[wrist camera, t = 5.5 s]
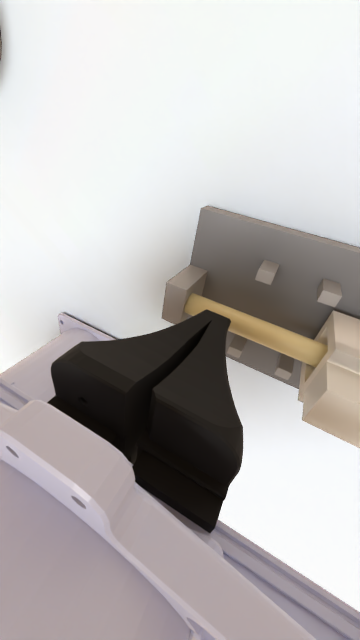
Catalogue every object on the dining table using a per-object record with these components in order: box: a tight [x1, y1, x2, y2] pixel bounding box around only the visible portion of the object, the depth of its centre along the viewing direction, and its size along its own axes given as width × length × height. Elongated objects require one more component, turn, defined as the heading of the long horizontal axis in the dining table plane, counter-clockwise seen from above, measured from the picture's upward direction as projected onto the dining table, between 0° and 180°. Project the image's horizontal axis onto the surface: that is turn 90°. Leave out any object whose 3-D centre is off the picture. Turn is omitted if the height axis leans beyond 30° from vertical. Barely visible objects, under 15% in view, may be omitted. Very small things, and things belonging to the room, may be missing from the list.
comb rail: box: [162, 206, 360, 389], centre depth 13 cm, size 9×15×4 cm, turn 80°
